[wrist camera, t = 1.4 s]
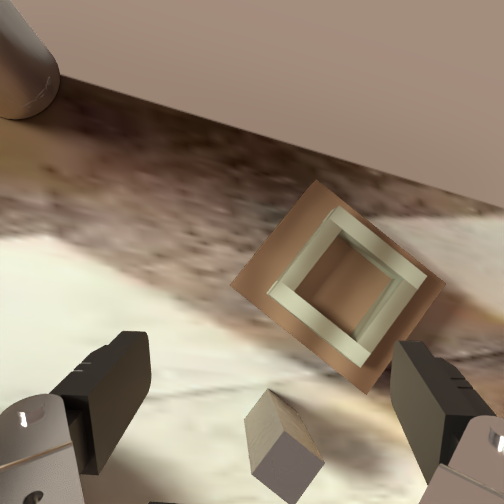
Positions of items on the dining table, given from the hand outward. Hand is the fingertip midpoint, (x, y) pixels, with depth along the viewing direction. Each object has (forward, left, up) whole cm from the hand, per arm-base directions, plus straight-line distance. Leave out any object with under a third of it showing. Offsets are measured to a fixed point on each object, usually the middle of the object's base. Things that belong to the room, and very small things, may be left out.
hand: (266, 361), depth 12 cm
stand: (+6, +8, -28) cm, 29 cm away
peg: (+10, -7, -28) cm, 30 cm away
